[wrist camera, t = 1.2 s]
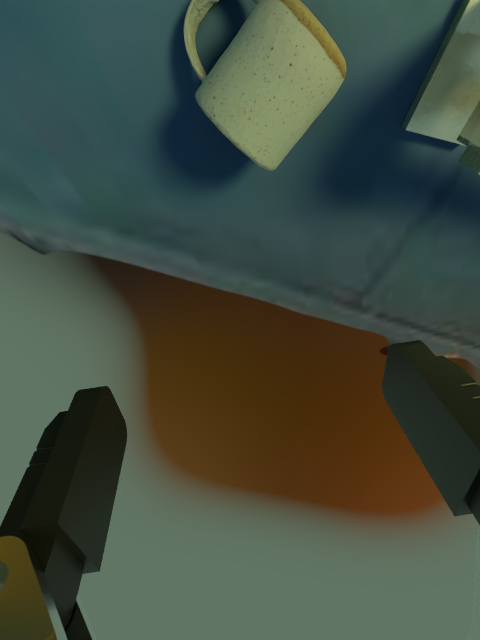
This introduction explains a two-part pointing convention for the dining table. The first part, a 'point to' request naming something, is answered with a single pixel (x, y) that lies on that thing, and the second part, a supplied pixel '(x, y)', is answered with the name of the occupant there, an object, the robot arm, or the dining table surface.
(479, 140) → the birch batten
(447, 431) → the robot arm
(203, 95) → the ceramic mug
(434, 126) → the hook rack
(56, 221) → the dining table surface
